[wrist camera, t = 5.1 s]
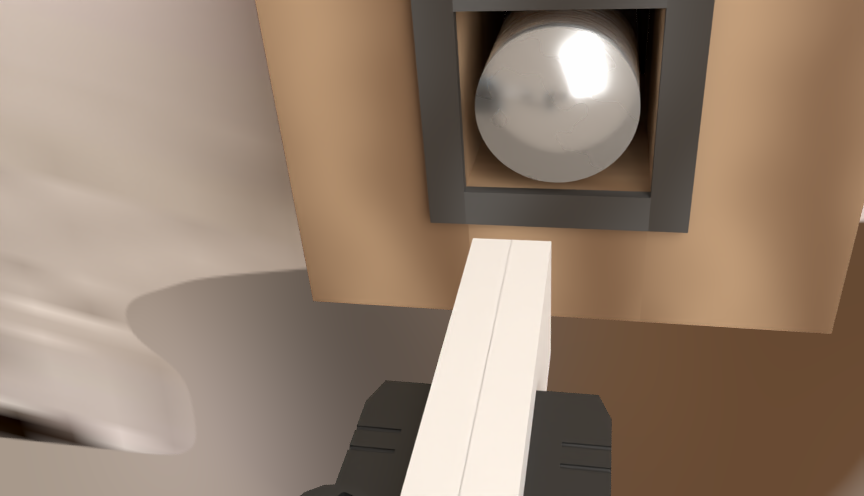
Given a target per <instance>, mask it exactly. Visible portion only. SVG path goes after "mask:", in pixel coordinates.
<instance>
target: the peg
mask: <svg viewBox="0 0 864 496" xmlns="http://www.w3.org/2000/svg"><path fill="white" fill-rule="evenodd" d="M475 115H476V121H477V125H478V129H479V131H480V134H481V136H482V138H483V140H484V142H485V143H486V145H487V147H488V148H489V149H490V151H491V152H492V153H493V154H494V155H495V156H496V157H497V158H498V159H499V161H501V162H502V163H503V164H504V165H506V166H507V167H508V168H510V169H512V170H513V171H515V172H517V173H519V174H521V175H523V176H525V177H528V178H531V179H534V180H539V181H544V182H554V183H558V182H571V181H577V180H580V179H584V178H587V177H590V176H592V175H595V174H597V173H598V172H600V171H602V170H604V169H605V168H607V167H608V166H610V165H611V164H612V163H613V162H615V161H616V160H617V159H618V158H619V157H620V156H621V155H622V153H623V152H624V151H625V150H626V149H627V147H628V145H629V144H630V142H631V141H632V139H633V136H634V134H635V132H636V129H637V126H638V122H639V117H640V79H639V52H638V25H637V9H585V10H525V11H508V12H507V14H506V17H505V19H504V21H503V24H502V26H501V29H500V31H499V34H498V36H497V39H496V41H495V43H494V46H493V48H492V51H491V53H490V56H489V58H488V61H487V63H486V65H485V68H484V70H483V73H482V75H481V78H480V80H479V83H478V87H477V90H476V96H475Z"/></svg>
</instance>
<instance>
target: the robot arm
mask: <svg viewBox="0 0 864 496" xmlns="http://www.w3.org/2000/svg"><path fill="white" fill-rule="evenodd" d="M550 353H551V241H532V240H506V239H481V238H473V240H472V243H471V247H470V251H469V254H468V258H467V261H466V265H465V268H464V272H463V275H462V279H461V282H460V286H459V289H458V293H457V297H456V300H455V304H454V307H453V311H452V314H451V318H450V322H449V325H448V329H447V332H446V336H445V339H444V343H443V346H442V350H441V353H440V357H439V361H438V364H437V368H436V371H435V375H434V378H433V382H432V384H424V383H411V382H398V381H385V382H384V383H383V384H382V385H381V386H380V387H379V388H378V389H377V390H376V391H375V392H374V393H373V395H371V396H370V397H369V399H368V400H367V401H366V403H365V405H364V409H363V411H362V413H361V416H360V419H359V421H358V424H357V430H355V432H354V435H353V438H352V440H351V443H350V449H349V450H348V451H347V454H346V456H345V459H344V462H343V464H342V467H341V470H340V473H339V475H338V478H337V481H336V484H335V485H323V486H320V487H318V488H315V489H312V490H309V491H307V492H305V493H303V494H302V495H301V496H611V427H612V422H611V421H612V420H611V418H610V416H609V414H608V412H607V410H606V408H605V406H604V404H603V403H602V401H601V399H600V397H599V395H590V394H577V393H564V392H552V391H547V380H548V372H549V363H550Z"/></svg>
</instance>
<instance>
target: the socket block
mask: <svg viewBox="0 0 864 496" xmlns="http://www.w3.org/2000/svg"><path fill="white" fill-rule="evenodd" d="M255 3H256V8H257V13H258V19H259V24H260V29H261V34H262V39H263V44H264V50H265V55H266V60H267V65H268V70H269V75H270V80H271V86H272V91H273V96H274V101H275V106H276V111H277V117H278V122H279V127H280V132H281V137H282V142H283V148H284V153H285V158H286V163H287V168H288V173H289V179H290V184H291V189H292V194H293V199H294V204H295V209H296V215H297V220H298V225H299V230H300V235H301V240H302V246H303V251H304V256H305V261H306V266H307V271H308V277H309V282H310V287H311V292H312V297H313V301H321V302H337V303H352V304H368V305H369V304H370V305H384V306H400V307H416V308H431V309H447V310H453V307H454V304H455V300H456V297H457V293H458V289H459V286H460V282H461V279H462V275H463V272H464V268H465V265H466V261H467V258H468V254H469V251H470V247H471V243H472V240H473V238H481V239H506V240H532V241H551V316H558V317H559V316H560V317H574V318H590V319H606V320H622V321H637V322H655V323H670V324H685V325H701V326H717V327H733V328H751V329H765V330H780V331H796V332H813V333H828V334H831V333H832V329H833V325H834V321H835V317H836V313H837V309H838V305H839V301H840V297H841V293H842V289H843V285H844V281H845V277H846V273H847V269H848V265H849V261H850V257H851V253H852V249H853V245H854V241H855V237H856V233H857V229H858V225H859V221H860V217H861V213H862V209H863V205H864V0H255ZM646 8H649V20H648V34H647V48H646V61H645V75H639V79H640V117H639V122H638V126H637V129H636V132H635V134H634V136H633V139H632V141H631V142H630V144H629V145H628V147H627V149H626V150H625V151H624V152H623V153H622V155H621V156H620V157H619V158H618V159H617V160H616V161H615V162H613V163H612V164H611V165H610V166H608V167H607V168H605V169H604V170H602V171H600V172H598V173H597V174H595V175H592V176H590V177H587V178H584V179H580V180H577V181H571V182H558V183H554V182H544V181H539V180H534V179H531V178H528V177H525V176H523V175H521V174H519V173H517V172H515V171H513V170H512V169H510V168H508V167H507V166H506V165H504V164H503V163H502V162H501V161H499V159H498V158H497V157H496V156H495V155H494V154H493V153H492V152H491V151H490V149H489V148H488V147H487V145H486V143H485V142H484V140H483V138H482V136H481V134H480V131H479V129H478V125H477V121H476V115H475V96H476V90H477V87H478V83H479V80H480V78H481V75H482V73H483V70H484V68H485V65H486V63H487V61H488V58H489V56H490V53H491V51H492V48H493V46H494V43H495V41H496V39H497V36H498V34H499V31H500V29H501V26H502V24H503V11H525V10H585V9H646Z"/></svg>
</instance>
